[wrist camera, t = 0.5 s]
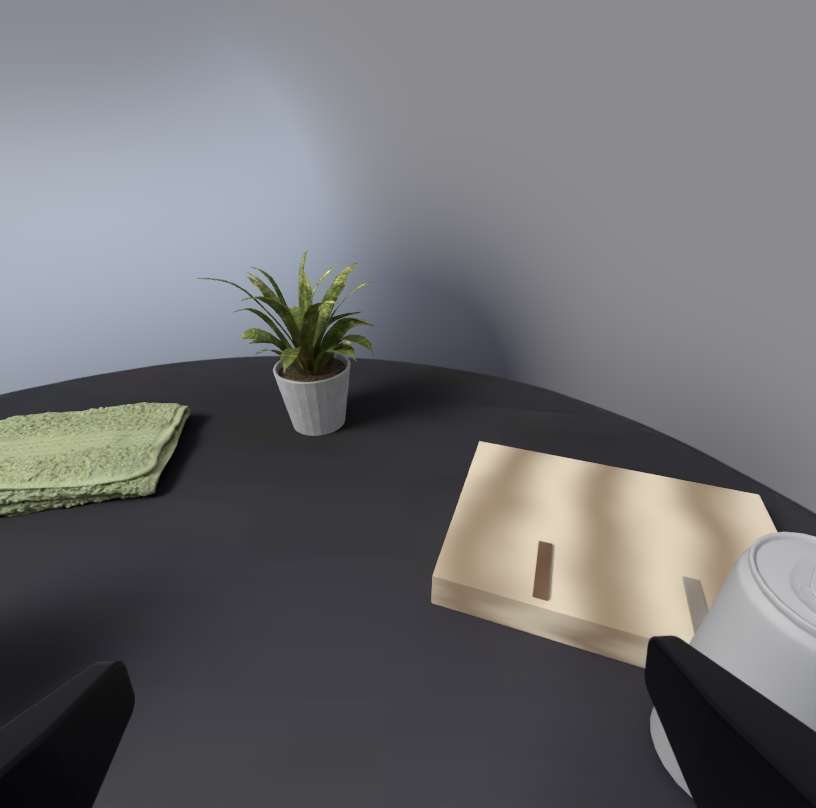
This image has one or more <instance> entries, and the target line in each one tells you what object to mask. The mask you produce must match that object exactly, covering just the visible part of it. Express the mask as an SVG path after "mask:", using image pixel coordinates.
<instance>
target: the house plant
mask: <svg viewBox="0 0 816 808" xmlns="http://www.w3.org/2000/svg"><path fill="white" fill-rule="evenodd" d="M306 253H307V252H306ZM306 253H305V254H304V256H303V259H302V261H301V266H300V271H299V308H300V309H299V308H297V307H293V308H291V309H288V307H287V304H286V302H285V300H284V298H283V296H282V293H281V292H280V290H279V288H278V286H277V284H276V283H275V281H274V280H273V278H272V277H271V276H269V275H268V274H267V273H266V272H264V271H262V270H260V269H257V268H255V269H257V270H259V271H261V272H262V273H263V274H264V275H265V276H266V277H267V278H268V279H269V280H270V282H271V283H272V285H273V287H274V289H275V291H276V293H277V295H278V297H279V298H278V297H277V296H276V295H275V294H274V292H273V291H272V290H271V289H270V288H268V287H267V286H266V285H265V284H264V283H263V282H262V281H261V280H260V279H259V278H258V277H256V276H254V275H252V274H250V273H248V274H249V275H250V276H252V277H253V278H255V279H256V280H257V281H256V280H253V279H251V278H249V277H248V278H249V279H250V281H251V282H252V283H253V284H254V285H256V286H257V287H258V288H259V289H260V291H261V292H262V294H263V295H264V296H265V297H253V296H252V295H251V294H249V293H248V292H247V291H246V290H244V289H243V288H241V287H239V286H238V285H236V284H234V283H231V282H228V281H225V280H220V279H212V278H211V279H212V280H219V281H223V282H227V283H230V284H232V285H235V286H236V287H238V288H240V289H241V290H243V291H245V292H246V293H247V294H248V295H249V296H251V297H250V298H245V299H243V300H246V299H251V298H253V299H254V300H255V301H256V302H257V303H258V304H259V305H260V306H261V307H262V308H263V309H264V310H265V311H266V312H267V313H268V314H269V315H270V316H271V317H272V318H273V319H274V320H275V321H276V319H275V318H274V317H273V316H272V315H271V314H270V313H269V312H268V311H267V310H266V309H265V308H264V307H263V306H262V305H261V304H260V303H259V302H258V301H257V300H256V299H255V298H257V299H260V300H262V301H263V302H265V303H267V304H268V305H269V306H270V307H272V308H273V309H274V310H275V312H276V313H277V314H278V315H279V316H280V317H281V319H282V320H283V322H284V324H285V325H286V327H287V329H288V331H289V332H290V334H291V336H292V339H293V341H292V339H291V338H290V336H289V335H288V334H287V333H286V331H285V330H284V329H283V328H282V326H281V325H280V324H279V323H278V322H277V321H276V322H277V324H278V325H279V326H280V327H281V328H282V329H283V331H284V332H285V333H286V335H287V336H288V337H289V339H290V340H291V341H292V343H293V345H294V347H295V349H293V348H292V347H291V345H290V344H289V343H288V341H287V340H286V338H285V337H284V335H283V334H282V333H281V332H280V330H279V329H278V328H277V327H276V325H275V324H274V323H273V322H272V320H271V319H269V318H268V317H267V316H266V315H264V314H263V313H262V312H260V311H258V310H255V309H251V308H250V309H249V308H247V309H242V310H250V311H252V312H253V313H255V314H257V315H258V316H260V317H261V318H262V319H263V320H264V321H265V322H266V323H267V324H268V325H269V326H270V327H271V328H272V329H273V330H274V331H275V333H276V334H277V336H278V337H279V338H280V340H281V341H280V340H278V339H277V338H276V337H274V336H273V335H271V334H270V333H268V332H266V331H263V330H260V329H255V328H253V329H249V330H247V331H245V332H244V333H243V335H242V336H241V337H240V338H242V339H256V340H254V341H252V342H250V343H249V344H252V343H272V344H274V345H276V346H277V347H279V348H280V349H281V350H282V352H280V351H277V350H271V351H273V352H275V353H277V354H279V355H280V359H281V360H279V361H278V362H277V363H276V364H275V366H274V369H273V372H274V375H275V378H276V381H277V383H278V386H279V389H280V391H281V394H282V397H283V399H284V402H285V405H286V407H287V410H288V413H289V416H290V418H291V421H292V424H293V426H294V429H295V430H296V431H297V432H299V433H301V434H305V435H310V436H320V435H325V434H329V433H332V432H334V431H336V430H338V429H339V428H340V427H341V426H342V425H343V424H344V422H345V415H346V404H347V394H348V383H349V373H350V361H349V360H348V358H347V357H346V356H344V355H343V354H346V355H348V356H350V357H352V358H353V359H354V360H355V361H356V359H355V355H354V349H353V348H352V347H351V346H349V345H353V344H352V343H351V342H349V341H345V342H344V343H345V344H343V343H341V344H339V343H340V342H341V341H342V340H350V341H353V342H356V343H358V344H360V345H363V346H365V347H367V348H368V349H369V350H371V351H372V347H371V343H370V342H369V340H368V339H366V338H365V337H363V336H360V335H348V336H345V337H344V338H343V339H342V337H343V336H344V335H345V333H346V332H347V331H348V330H349V329H351V328H352V327H355V326H358V325H364V324H367V325H370V326H374V325H372V324H370V323H368V322H366V321H365V320H361V319H356V318H344V319H341V320H339V321H337V322H336V323H335V324H334V325H333V327H331V328H330V330H329V331H328V332H327V333H326V335H325V336H324V338H323V335H324V333H325V331H326V329H327V327H328V326H329V325H330V324H331V323H332V322H334V321H335V320H337V319H340V318H343V317H345V316H348V315H352V314H357V313H360V312H356V313H346V314H342V315H338V316H335V317H333V315H334V313H335V311H336V310H337V309H336V310H335V311H334V312H333V313H332V315H331V317H330V318H329V316H330V314H331V311H332V309H333V307H334V304H335V303H338V302H336V300H337V298H338V297H339V295H340V293H341V291H342V290H343V288H344V286H345V283H346V279H347V276H348V274H349V273H350V271H351V270H352V269H353V268H354V266H355V265H356V263H354V264H353V265H350V266H348V267H347V268H345V269H344V270H343V271H342V272H341V273H340V274H339V275H338V276H337V277H336V279H335V280H334V282H333V283H332V285H331V287H330V288H329V290H328V291H327V293H326V295H325V296H324V299H323V300H322V303H317V304H314V305H312V297H313V294H314V292H315V290H316V288H317V286H318V285H319V283H320V282H321V280H322V279H323V278H324V277H325V276H326V275H327V274H328V273H329V272H330V271H331V270H332V269H333V268H334V267H335V266H333V267H332V268H331V269H330V270H329V271H328V272H326V273H325V274H324V276H323V277H322V278H321V279H320V280H319V281H318V283H317V285H316V287H315V289H314V290H313V293H312V291H311V287H310V283H309V280H308V278H307V276H306V274H305V273H304V271H303V270H304V263H305V257H306ZM252 268H253V267H252ZM201 279H210V278H201ZM369 283H372V282H369ZM369 283H365V284H362V285H360V286H359V287H357V288H355V289H354V290H353V291H352V292H354V291H355V290H357V289H358V288H360V287H362V286H364V285H367V284H369ZM352 292H351V293H352ZM351 293H350V294H351ZM350 294H349V295H350ZM349 295H348V296H349ZM348 296H347V297H348ZM347 297H346V298H347ZM346 298H345V299H346ZM279 299H280V300H279ZM243 300H241V301H243ZM319 306H320V310H319V311H318V308H319ZM337 308H338V307H337ZM239 311H240V310H239ZM322 338H323V340H322ZM321 341H322V343H321ZM320 343H321V345H320ZM347 344H348V345H347ZM264 351H268V350H262V351H259V352H257V354H258V353H261V352H264ZM340 353H341V354H340ZM372 353H373V351H372Z"/></svg>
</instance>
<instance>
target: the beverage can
mask: <svg viewBox="0 0 816 808" xmlns="http://www.w3.org/2000/svg"><path fill="white" fill-rule="evenodd" d="M689 645H691V646H692V647H694V648H695V649H697V650H698V651H700V652H701V653H703V654H704V655H705V656H707V657H708V658H710V659H711V660H713V661H714V662H716V663H717V664H718V665H720V666H721V667H723V668H724V669H726V670H727V671H729V672H730V673H732V674H733V675H734V676H736V677H737V678H739V679H740V680H742V681H743V682H745V683H746V684H748V685H749V686H750V687H752V688H753V689H755V690H756V691H758V692H759V693H761V694H762V695H764V696H765V697H766V698H768V699H769V700H771V701H772V702H774V703H775V704H777V705H778V706H780V707H781V708H782V709H784V710H785V711H787V712H788V713H790V714H791V715H793V716H794V717H795V718H797V719H798V720H800V721H801V722H803V723H804V724H806V725H807V726H809V727H810V728H811V729H813V730H814V731H816V537H814V536H810V535H806V534H802V533H792V532H777V533H769V534H767V535H764V536H762V537H760V538H758V539H757V540H756V541H755V542H754V543H753V544H752V546H751V547H750V548H748V549H746V550H745V551H744V553H743V554H742V555H741V556H740V557H739V558H738V560H737V561H736V563H735V565H734V566H733V568H732V570H731V572H730V573H729V575H728V577H727V579H726V580H725V582H724V584H723V586H722V587H721V589H720V591H719V593H718V594H717V596H716V598H715V600H714V601H713V603H712V605H711V607H710V608H709V610H708V612H707V614H706V615H705V617H704V619H703V621H702V622H701V624H700V626H699V628H698V629H697V631H696V633H695V635H694V636H693V638H692V640H691V642H690V643H689ZM650 727H651V736H652V739H653V743H654V746H655V749H656V751H657V753H658V755H659V757H660V759H661V761H662V763H663V765H664V767H665V768H666V769H667V771H668V772H669V773H670V775H671V776H672V777H673V779H674V780H675V782H676V783H677V784H678V785H679V786H680V787H681V788H682V789H683V790H684V791H685V792H686V793H687V794H688V795H689V796H690V797H691V798H692V796H691V794H690V791H689V789H688V787H687V784H686V782H685V780H684V777H683V775H682V772H681V770H680V768H679V765H678V763H677V760H676V758H675V756H674V753H673V751H672V748H671V746H670V743H669V741H668V739H667V736H666V734H665V731H664V729H663V726H662V724H661V722H660V719H659V717H658V714H657V712H656V709H655V707H653V710H652V714H651V717H650Z"/></svg>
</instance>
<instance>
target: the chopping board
mask: <svg viewBox="0 0 816 808" xmlns="http://www.w3.org/2000/svg"><path fill="white" fill-rule="evenodd" d="M769 533H777V530H776V528H775V526H774V524H773V522H772V520H771V518H770V516H769V514H768V512H767V510H766V508H765V506H764V504H763V502H762V500H761V498H760V496H759V495H757V494H752V493H747V492H742V491H736V490H731V489H726V488H721V487H715V486H710V485H705V484H700V483H695V482H689V481H684V480H679V479H674V478H668V477H663V476H658V475H653V474H648V473H642V472H637V471H632V470H627V469H622V468H616V467H611V466H606V465H601V464H595V463H590V462H585V461H580V460H575V459H569V458H564V457H559V456H554V455H549V454H543V453H538V452H533V451H528V450H522V449H517V448H512V447H507V446H502V445H496V444H491V443H486V442H481V441H479V444H478V447H477V450H476V453H475V456H474V458H473V461H472V464H471V467H470V470H469V473H468V476H467V478H466V481H465V484H464V487H463V490H462V493H461V496H460V499H459V501H458V504H457V507H456V510H455V513H454V516H453V519H452V521H451V524H450V527H449V530H448V533H447V536H446V539H445V541H444V544H443V547H442V550H441V553H440V556H439V559H438V561H437V564H436V567H435V570H434V573H433V576H432V599H431V603H433V604H437V605H440V606H443V607H446V608H450V609H453V610H456V611H460V612H463V613H466V614H469V615H473V616H476V617H479V618H482V619H486V620H489V621H492V622H495V623H499V624H502V625H505V626H508V627H512V628H515V629H518V630H521V631H525V632H528V633H531V634H534V635H538V636H541V637H544V638H547V639H551V640H554V641H557V642H561V643H564V644H567V645H570V646H574V647H577V648H580V649H583V650H587V651H590V652H593V653H596V654H600V655H603V656H606V657H609V658H613V659H616V660H619V661H622V662H626V663H629V664H632V665H635V666H639V667H642V668H645V664H646V655H647V647H648V641H649V639H650V638H651V637H653V636H668V635H673V636H677V637H679V638H681V639H682V640H684V641H685V642H687V643H688V644H689V643H690V642H691V640H692V638H693V636H694V635H695V633H696V631H697V629H698V628H699V626H700V624H701V622H702V621H703V619H704V617H705V615H706V614H707V612H708V610H709V608H710V607H711V605H712V603H713V601H714V600H715V598H716V596H717V594H718V593H719V591H720V589H721V587H722V586H723V584H724V582H725V580H726V579H727V577H728V575H729V573H730V572H731V570H732V568H733V566H734V565H735V563H736V561H737V560H738V558H739V557H740V556H741V555H742V554H743V553H744V551H745V550H746V549H748V548H750V547H751V546H752V544H753V543H754V542H755V541H756V540H757V539H758V538H760V537H762V536H764V535H767V534H769Z"/></svg>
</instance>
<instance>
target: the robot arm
mask: <svg viewBox="0 0 816 808" xmlns="http://www.w3.org/2000/svg"><path fill="white" fill-rule="evenodd" d="M644 676H645V683H646V687H647V690H648V692H649V695H650V697H651V700H652V702H653V705H654V707H655V709H656V712H657V714H658V717H659V719H660V722H661V724H662V726H663V729H664V731H665V734H666V736H667V739H668V741H669V743H670V746H671V748H672V751H673V753H674V756H675V758H676V760H677V763H678V765H679V768H680V770H681V772H682V775H683V777H684V780H685V782H686V784H687V787H688V789H689V791H690V794H691V796H692V798H693V800H694V802H695V804H696V806H697V808H816V731H814V730H813V729H811V728H810V727H809V726H807V725H806V724H804V723H803V722H801V721H800V720H798V719H797V718H795V717H794V716H793V715H791V714H790V713H788V712H787V711H785V710H784V709H782V708H781V707H780V706H778V705H777V704H775V703H774V702H772V701H771V700H769V699H768V698H766V697H765V696H764V695H762V694H761V693H759V692H758V691H756V690H755V689H753V688H752V687H750V686H749V685H748V684H746V683H745V682H743V681H742V680H740V679H739V678H737V677H736V676H734V675H733V674H732V673H730V672H729V671H727V670H726V669H724V668H723V667H721V666H720V665H718V664H717V663H716V662H714V661H713V660H711V659H710V658H708V657H707V656H705V655H704V654H703V653H701V652H700V651H698V650H697V649H695V648H694V647H692V646H691V645H689V644H688V643H687V642H685V641H684V640H682V639H681V638H679V637H677V636H673V635H668V636H653V637H651V638H650V639H649V641H648V647H647V655H646V664H645V674H644ZM134 704H135V695H134V691H133V688H132V685H131V682H130V678H129V675H128V672H127V668H126V666H125V664H124V663H123V662H122V661H100V662H96V663H94V664H93V665H91V666H89V667H88V668H87V669H85V670H84V671H82V672H81V673H79V674H78V675H76V676H75V677H74V678H72V679H71V680H69V681H68V682H66V683H65V684H63V685H62V686H61V687H59V688H58V689H56V690H55V691H53V692H52V693H50V694H49V695H48V696H46V697H45V698H43V699H42V700H40V701H39V702H37V703H36V704H35V705H33V706H32V707H30V708H29V709H27V710H26V711H24V712H23V713H22V714H20V715H19V716H17V717H16V718H14V719H13V720H11V721H10V722H9V723H7V724H6V725H4V726H3V727H1V728H0V808H92V806H93V804H94V802H95V800H96V797H97V795H98V793H99V790H100V788H101V786H102V783H103V781H104V778H105V776H106V774H107V771H108V769H109V767H110V764H111V762H112V760H113V757H114V755H115V753H116V750H117V748H118V746H119V743H120V741H121V738H122V736H123V734H124V731H125V729H126V727H127V724H128V722H129V720H130V717H131V715H132V712H133V709H134Z"/></svg>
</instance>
